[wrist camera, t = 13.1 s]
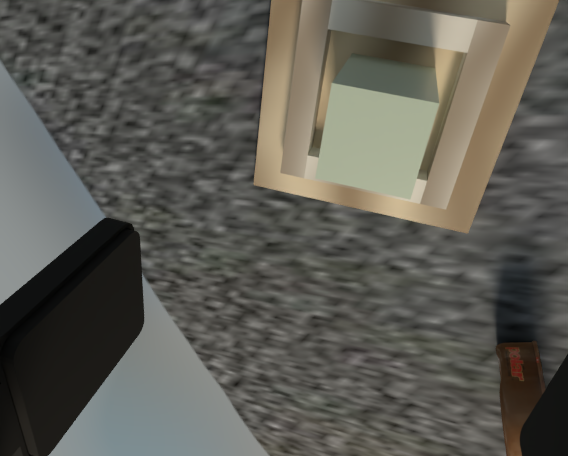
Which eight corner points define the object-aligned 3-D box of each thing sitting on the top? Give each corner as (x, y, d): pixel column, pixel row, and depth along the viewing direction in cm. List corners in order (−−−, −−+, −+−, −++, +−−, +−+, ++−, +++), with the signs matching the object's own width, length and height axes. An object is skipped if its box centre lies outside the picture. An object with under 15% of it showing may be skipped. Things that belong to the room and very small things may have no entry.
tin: (547, 457, 38) (575, 571, 31) (505, 456, 40) (523, 566, 32) (532, 313, 32) (564, 415, 25) (483, 317, 33) (500, 415, 26)
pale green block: (435, 68, 25) (439, 103, 19) (412, 146, 27) (410, 199, 22) (352, 53, 26) (331, 83, 20) (337, 131, 28) (315, 178, 22)
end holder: (560, -19, 23) (574, -16, 21) (466, 225, 30) (469, 246, 28) (282, -60, 25) (269, -61, 23) (257, 178, 32) (246, 194, 30)
